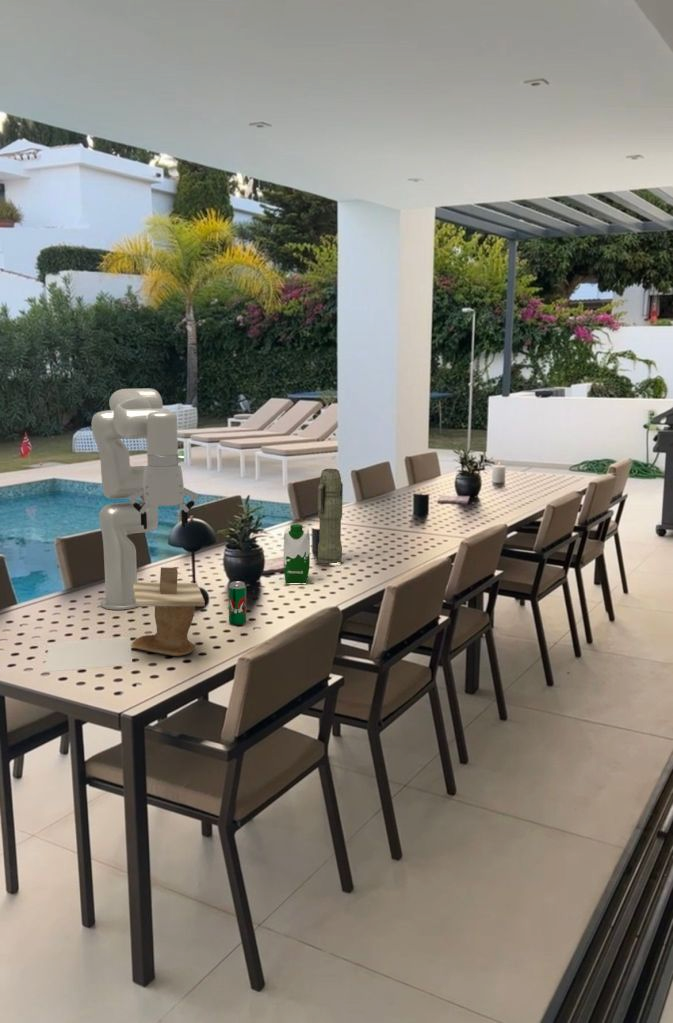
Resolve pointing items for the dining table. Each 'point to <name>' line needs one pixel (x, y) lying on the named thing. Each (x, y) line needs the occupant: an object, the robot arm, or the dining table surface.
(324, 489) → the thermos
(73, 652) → the grey mat
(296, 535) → the milk carton
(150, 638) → the brown boot-shaped piece
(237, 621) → the soda can
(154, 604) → the birch lid
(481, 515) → the dining table surface
